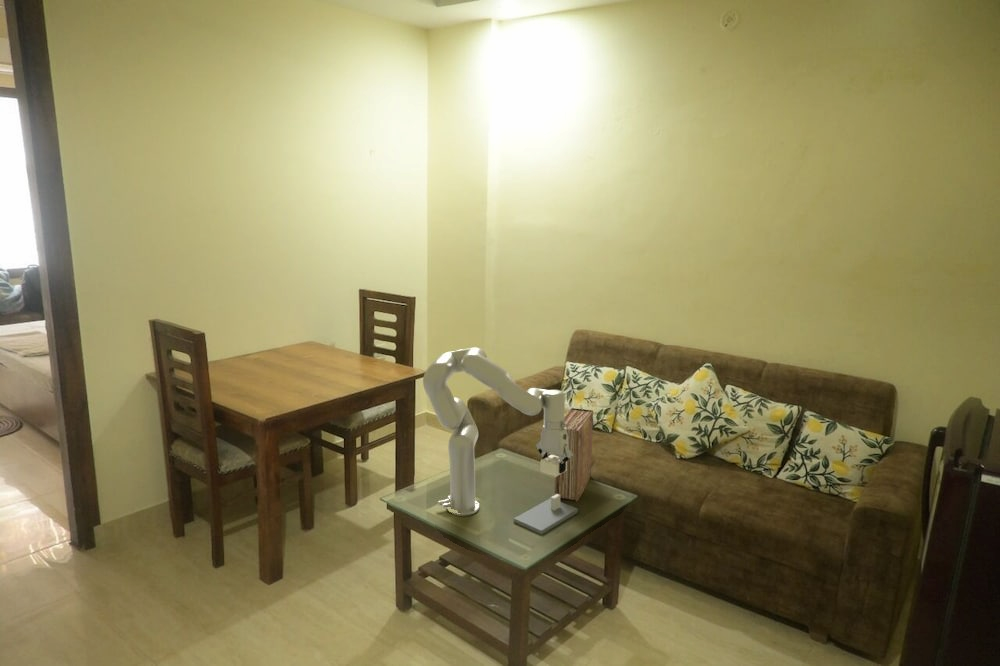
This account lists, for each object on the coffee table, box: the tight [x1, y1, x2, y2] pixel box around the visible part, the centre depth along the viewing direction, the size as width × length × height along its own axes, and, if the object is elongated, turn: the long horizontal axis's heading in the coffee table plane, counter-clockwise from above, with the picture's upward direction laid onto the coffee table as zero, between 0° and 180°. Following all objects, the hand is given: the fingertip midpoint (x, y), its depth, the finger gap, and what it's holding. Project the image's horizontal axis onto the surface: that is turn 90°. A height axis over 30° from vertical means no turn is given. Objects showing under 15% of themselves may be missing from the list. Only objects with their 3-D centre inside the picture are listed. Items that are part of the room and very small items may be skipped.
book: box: [554, 407, 594, 503], centre depth 251 cm, size 25×9×30 cm, turn 159°
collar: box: [539, 454, 567, 478], centre depth 228 cm, size 7×7×4 cm
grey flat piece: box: [513, 494, 579, 536], centre depth 229 cm, size 22×13×6 cm, turn 138°
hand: (553, 469), depth 229 cm, fingers closed on collar, 7 cm apart
